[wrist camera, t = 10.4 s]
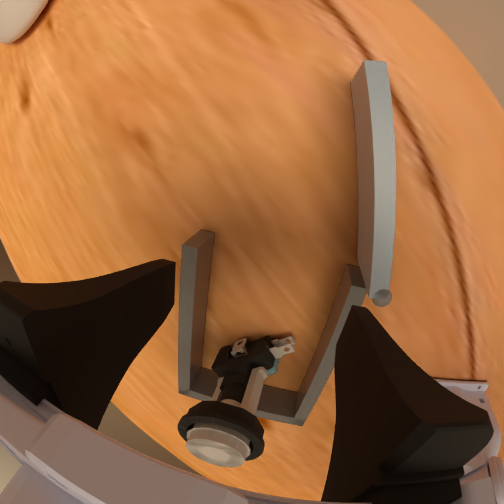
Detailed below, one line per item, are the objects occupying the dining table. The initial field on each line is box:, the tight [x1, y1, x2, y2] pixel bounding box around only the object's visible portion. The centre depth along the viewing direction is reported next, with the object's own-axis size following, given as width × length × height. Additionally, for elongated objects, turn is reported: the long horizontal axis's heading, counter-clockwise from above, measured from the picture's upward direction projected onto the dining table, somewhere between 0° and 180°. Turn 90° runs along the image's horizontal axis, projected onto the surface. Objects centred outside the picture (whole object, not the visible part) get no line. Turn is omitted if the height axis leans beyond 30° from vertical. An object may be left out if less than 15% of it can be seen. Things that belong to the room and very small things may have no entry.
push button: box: [178, 336, 296, 467], centre depth 18 cm, size 7×5×10 cm
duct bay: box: [178, 230, 367, 426], centre depth 20 cm, size 11×14×3 cm
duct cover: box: [350, 60, 396, 307], centre depth 13 cm, size 12×1×5 cm, turn 6°
